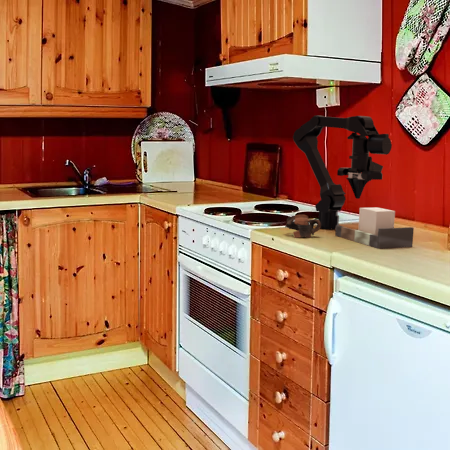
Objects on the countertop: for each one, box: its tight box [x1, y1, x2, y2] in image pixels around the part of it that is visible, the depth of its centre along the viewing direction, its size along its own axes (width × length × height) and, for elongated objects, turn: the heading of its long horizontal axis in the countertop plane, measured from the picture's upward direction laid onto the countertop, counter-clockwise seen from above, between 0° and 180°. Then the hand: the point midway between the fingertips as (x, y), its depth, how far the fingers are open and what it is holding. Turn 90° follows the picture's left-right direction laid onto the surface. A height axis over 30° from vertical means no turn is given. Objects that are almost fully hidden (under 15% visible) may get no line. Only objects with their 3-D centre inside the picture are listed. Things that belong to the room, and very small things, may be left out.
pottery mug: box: [284, 214, 321, 239], centre depth 208 cm, size 12×10×8 cm
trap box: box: [334, 224, 415, 250], centre depth 202 cm, size 24×12×6 cm, turn 23°
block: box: [357, 207, 396, 236], centre depth 200 cm, size 9×7×8 cm
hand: (357, 198), depth 217 cm, fingers closed
